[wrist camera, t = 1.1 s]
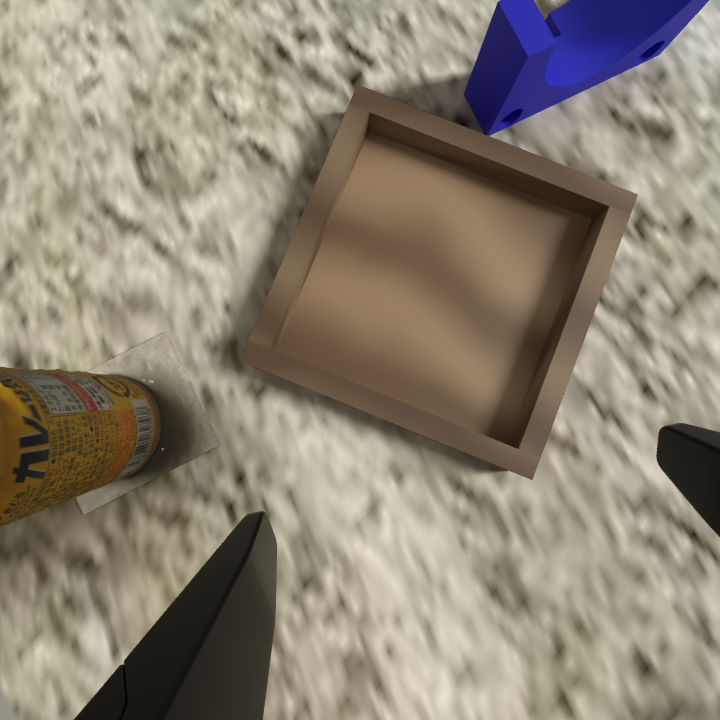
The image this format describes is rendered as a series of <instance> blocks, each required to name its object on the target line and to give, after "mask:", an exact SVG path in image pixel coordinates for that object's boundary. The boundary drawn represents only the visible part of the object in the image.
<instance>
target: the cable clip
mask: <svg viewBox="0 0 720 720" xmlns="http://www.w3.org/2000/svg"><path fill="white" fill-rule="evenodd" d="M708 1H709V0H571V1H569V2H568V3H566V4H565V5H563V6H562V7H560V8H558V9H556V10H554V11H552V12H550V13H549V15H548V17H547V19H546V21H545V20H544V18H543V17H542V15H541V13H540V11H539V9H538V8H537V6H536V4H535V2H534V0H500V1H498V3H497V6H496V9H495V11H494V14H493V17H492V19H491V22H490V25H489V28H488V30H487V33H486V36H485V38H484V41H483V44H482V46H481V49H480V52H479V55H478V57H477V60H476V63H475V65H474V68H473V71H472V74H471V76H470V79H469V82H468V84H467V87H466V90H465V93H464V96H465V98H466V100H467V101H468V103H469V105H470V107H471V109H472V111H473V113H474V115H475V117H476V118H477V120H478V122H479V124H480V126H481V128H482V130H483V132H484V133H485V135H487V136H490V135H492V134H494V133H496V132H498V131H500V130H502V129H504V128H506V127H508V126H511V125H513V124H515V123H517V122H519V121H521V120H523V119H525V118H527V117H530V116H532V115H534V114H536V113H538V112H540V111H542V110H544V109H546V108H548V107H551V106H553V105H555V104H557V103H559V102H561V101H563V100H565V99H567V98H570V97H572V96H574V95H576V94H578V93H580V92H582V91H584V90H586V89H588V88H591V87H593V86H595V85H597V84H599V83H601V82H603V81H605V80H607V79H610V78H612V77H614V76H616V75H618V74H620V73H622V72H624V71H626V70H628V69H631V68H633V67H635V66H637V65H639V64H641V63H643V62H645V61H647V60H650V59H652V58H654V57H656V56H658V55H659V54H660V53H661V52H662V51H663V50H664V49H665V48H666V47H667V46H668V45H669V44H670V42H671V41H672V40H673V39H674V38H675V37H676V36H677V35H678V34H679V33H680V32H681V31H682V29H683V28H684V27H685V26H686V25H687V24H688V23H689V22H690V21H691V20H692V19H693V17H694V16H695V15H696V14H697V13H698V12H699V11H700V10H701V9H702V8H703V7H704V5H705V4H706V3H707V2H708Z"/></svg>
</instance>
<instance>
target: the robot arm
mask: <svg viewBox="0 0 720 720" xmlns="http://www.w3.org/2000/svg"><path fill="white" fill-rule="evenodd" d="M656 458H657V462H658V464H659V466H660V468H661V469H662V470H663V472H664V473H665V474H666V475H667V476H668V478H669V479H670V480H671V481H672V482H673V483H674V485H675V486H676V487H677V488H678V489H679V491H680V492H681V493H682V494H683V495H684V497H685V498H686V499H687V500H688V501H689V503H690V504H691V505H692V506H693V507H694V509H695V510H696V511H697V512H698V513H699V515H700V516H701V517H702V518H703V519H704V520H705V522H706V523H707V524H708V525H709V526H710V527H711V528H712V529H713V530H714V532H715V533H716V534H717V535H718V536H719V537H720V432H717V431H713V430H709V429H705V428H701V427H697V426H693V425H689V424H685V423H677V424H672V425H667V426H664V427H662V428H661V429H660V431H659V436H658V445H657V455H656ZM276 574H277V542H276V538H275V535H274V532H273V529H272V527H271V524H270V521H269V518H268V516H267V514H266V513H265V512H264V511H260V512H255V513H250V514H247V515H246V516H245V517H244V518H243V519H242V520H241V521H240V523H239V524H238V525H237V526H236V527H235V529H234V530H233V531H232V532H231V533H230V535H229V536H228V537H227V538H226V539H225V540H224V542H223V543H222V544H221V545H220V546H219V548H218V549H217V550H216V551H215V552H214V554H213V555H212V556H211V557H210V558H209V560H208V561H207V562H206V563H205V564H204V566H203V567H202V568H201V569H200V570H199V572H198V573H197V574H196V575H195V576H194V578H193V579H192V580H191V581H190V582H189V584H188V585H187V586H186V587H185V588H184V590H183V591H182V592H181V593H180V594H179V596H178V597H177V598H176V599H175V600H174V602H173V603H172V604H171V605H170V606H169V607H168V609H167V610H166V611H165V612H164V613H163V615H162V616H161V617H160V618H159V619H158V621H157V622H156V623H155V624H154V625H153V627H152V628H151V629H150V630H149V631H148V633H147V634H146V635H145V636H144V637H143V639H142V640H141V641H140V642H139V643H138V645H137V646H136V647H135V648H134V649H133V651H132V652H131V653H130V654H129V655H128V657H127V658H126V659H125V660H124V665H120V666H119V667H118V668H117V669H116V671H115V672H114V673H113V674H112V675H111V677H110V678H109V679H108V680H107V681H106V683H105V684H104V685H103V686H102V687H101V689H100V690H99V691H98V692H97V693H96V694H95V696H94V697H93V698H92V699H91V700H90V701H89V702H88V704H87V705H86V706H85V707H84V708H83V709H82V711H81V712H80V713H79V714H78V715H77V716H76V718H75V719H74V720H263V713H264V705H265V698H266V690H267V682H268V674H269V667H270V659H271V651H272V643H273V636H274V627H275V613H276Z"/></svg>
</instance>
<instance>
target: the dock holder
mask: <svg viewBox="0 0 720 720" xmlns="http://www.w3.org/2000/svg"><path fill="white" fill-rule="evenodd" d="M637 196H638V194H635V193H633V192H630V191H627V190H625V189H622V188H620V187H617V186H615V185H612V184H610V183H607V182H604V181H602V180H599V179H597V178H594V177H592V176H589V175H587V174H584V173H581V172H579V171H576V170H574V169H571V168H569V167H566V166H564V165H561V164H559V163H556V162H553V161H551V160H548V159H546V158H543V157H541V156H538V155H536V154H533V153H530V152H528V151H525V150H523V149H520V148H518V147H515V146H513V145H510V144H508V143H505V142H502V141H500V140H497V139H495V138H492V137H490V136H487V135H485V134H482V133H479V132H477V131H474V130H472V129H469V128H467V127H464V126H462V125H459V124H456V123H454V122H451V121H449V120H446V119H444V118H441V117H439V116H436V115H434V114H431V113H428V112H426V111H423V110H421V109H418V108H416V107H413V106H411V105H408V104H405V103H403V102H400V101H398V100H395V99H393V98H390V97H388V96H385V95H383V94H380V93H377V92H375V91H372V90H370V89H367V88H365V87H362V86H360V85H357V87H356V90H355V92H354V94H353V97H352V99H351V101H350V104H349V106H348V108H347V111H346V113H345V115H344V118H343V120H342V122H341V125H340V127H339V129H338V132H337V134H336V136H335V139H334V141H333V143H332V146H331V148H330V150H329V153H328V155H327V157H326V160H325V162H324V165H323V167H322V169H321V172H320V174H319V176H318V179H317V181H316V183H315V186H314V188H313V190H312V193H311V195H310V197H309V200H308V202H307V204H306V207H305V209H304V211H303V214H302V216H301V218H300V221H299V223H298V225H297V228H296V230H295V232H294V235H293V237H292V240H291V242H290V244H289V247H288V249H287V251H286V254H285V256H284V258H283V261H282V263H281V265H280V268H279V270H278V272H277V275H276V277H275V279H274V282H273V284H272V286H271V289H270V291H269V293H268V296H267V298H266V300H265V303H264V305H263V307H262V310H261V312H260V314H259V317H258V319H257V322H256V324H255V326H254V329H253V331H252V333H251V336H250V338H249V340H248V343H247V345H246V347H245V350H244V352H243V354H242V357H241V359H240V361H242V362H244V363H247V364H249V365H252V366H254V367H256V368H259V369H261V370H264V371H266V372H269V373H271V374H274V375H276V376H278V377H281V378H283V379H286V380H288V381H291V382H293V383H296V384H298V385H301V386H303V387H305V388H308V389H310V390H313V391H315V392H318V393H320V394H323V395H325V396H328V397H330V398H332V399H335V400H337V401H340V402H342V403H345V404H347V405H350V406H352V407H355V408H357V409H359V410H362V411H364V412H367V413H369V414H372V415H374V416H377V417H379V418H381V419H384V420H386V421H389V422H391V423H394V424H396V425H399V426H401V427H404V428H406V429H408V430H411V431H413V432H416V433H418V434H421V435H423V436H426V437H428V438H431V439H433V440H435V441H438V442H440V443H443V444H445V445H448V446H450V447H453V448H455V449H458V450H460V451H462V452H465V453H467V454H470V455H472V456H475V457H477V458H480V459H482V460H484V461H487V462H489V463H492V464H494V465H497V466H499V467H502V468H504V469H507V470H509V471H511V472H514V473H516V474H519V475H521V476H524V477H526V478H529V479H531V480H532V479H533V476H534V474H535V471H536V468H537V466H538V463H539V460H540V458H541V455H542V452H543V449H544V447H545V444H546V441H547V439H548V436H549V433H550V431H551V428H552V425H553V422H554V420H555V417H556V414H557V412H558V409H559V406H560V404H561V401H562V398H563V395H564V393H565V390H566V387H567V385H568V382H569V379H570V376H571V374H572V371H573V368H574V366H575V363H576V360H577V358H578V355H579V352H580V349H581V347H582V344H583V341H584V339H585V336H586V333H587V331H588V328H589V325H590V322H591V320H592V317H593V314H594V312H595V309H596V306H597V304H598V301H599V298H600V295H601V293H602V290H603V287H604V285H605V282H606V279H607V277H608V274H609V271H610V268H611V266H612V263H613V260H614V258H615V255H616V252H617V250H618V247H619V244H620V241H621V239H622V236H623V233H624V231H625V228H626V225H627V223H628V220H629V217H630V214H631V212H632V209H633V206H634V204H635V201H636V198H637Z"/></svg>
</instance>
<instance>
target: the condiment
mask: <svg viewBox="0 0 720 720" xmlns="http://www.w3.org/2000/svg"><path fill="white" fill-rule="evenodd" d="M143 378H144V379H146V382H143V381H142V379H143ZM148 380H153V381H154V383H150V382H148ZM217 446H219V444H218V442H217V440H216V437H215V435H214V433H213V430H212V428H211V426H210V424H209V422H208V419H207V417H206V415H205V413H204V411H203V409H202V407H201V404H200V402H199V400H198V398H197V396H196V394H195V392H194V390H193V388H192V386H191V384H190V381H189V379H188V376H187V375H186V373H185V371H184V370H183V368H182V366H181V364H180V362H179V359H178V357H177V355H176V353H175V351H174V349H173V347H172V345H171V343H170V341H169V339H168V337H167V335H166V333H165V332H164V333H162V334H160V335H158V336H156V337H154V338H152V339H150V340H148V341H146V342H144V343H142V344H140V345H138V346H135V347H133V348H131V349H130V350H128V351H126V352H124V353H122V354H120V355H118V356H116V357H114V358H112V359H110V360H108V361H106V362H104V363H102V364H101V365H99V366H97V367H95V368H93V369H91V370H89V371H87V372H80V371H75V372H69V371H64V370H60V369H56V370H44V369H37V370H27V369H15V368H6V367H0V527H1V526H4V525H6V524H10V523H12V522H14V521H17V520H20V519H22V518H24V517H27V516H29V515H31V514H34V513H37V512H39V511H42V510H44V509H47V508H49V507H52V506H54V505H57V504H59V503H63V502H65V501H67V500H70V499H73V498H75V497H76V499H77V502H78V504H79V506H80V508H81V510H82V512H83V514H84V515H85V514H87V513H89V512H91V511H93V510H95V509H96V508H98V507H100V506H102V505H104V504H106V503H108V502H110V501H112V500H114V499H116V498H118V497H120V496H122V495H124V494H126V493H128V492H130V491H131V490H134V489H135V488H137V487H139V486H141V485H143V484H145V483H147V482H149V481H151V480H153V479H155V478H157V477H159V476H160V475H162V474H164V473H166V472H168V471H170V470H172V469H174V468H176V467H178V466H180V465H182V464H184V463H186V462H188V461H190V460H192V459H194V458H195V457H197V456H199V455H201V454H203V453H205V452H207V451H209V450H211V449H213V448H215V447H217ZM161 448H164V450H163V451H162V450H161Z"/></svg>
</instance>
